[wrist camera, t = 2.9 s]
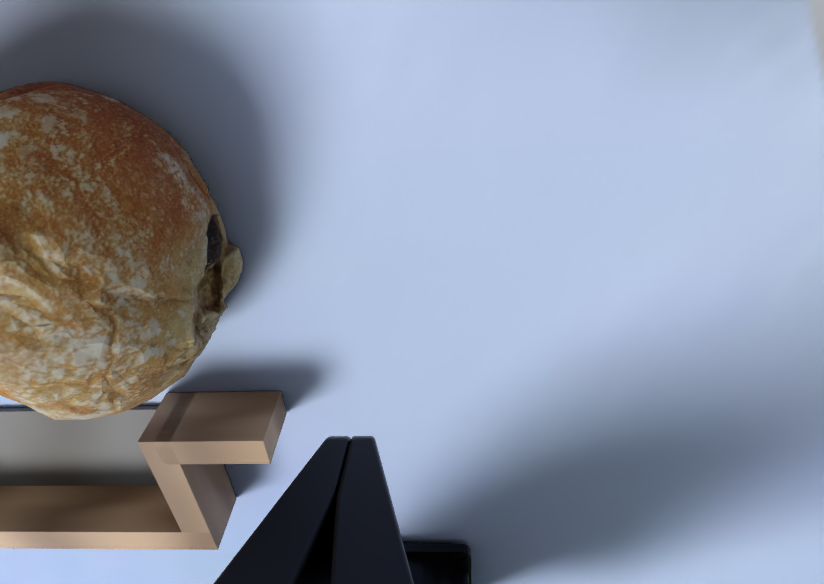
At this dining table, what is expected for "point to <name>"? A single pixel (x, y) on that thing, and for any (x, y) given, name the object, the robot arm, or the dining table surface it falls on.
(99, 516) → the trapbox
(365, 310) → the dining table surface
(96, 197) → the bread roll
